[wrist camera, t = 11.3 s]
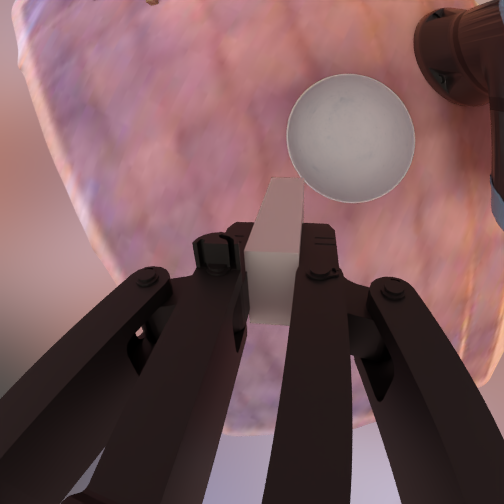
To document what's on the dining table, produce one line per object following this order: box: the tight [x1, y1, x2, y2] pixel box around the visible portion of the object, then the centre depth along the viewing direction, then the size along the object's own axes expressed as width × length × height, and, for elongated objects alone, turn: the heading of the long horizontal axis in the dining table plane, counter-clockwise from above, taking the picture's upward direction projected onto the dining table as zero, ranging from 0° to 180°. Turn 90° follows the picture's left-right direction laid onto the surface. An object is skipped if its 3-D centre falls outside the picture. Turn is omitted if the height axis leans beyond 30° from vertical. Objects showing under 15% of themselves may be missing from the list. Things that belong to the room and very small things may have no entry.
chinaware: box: [286, 74, 415, 203], centre depth 34 cm, size 15×15×8 cm
